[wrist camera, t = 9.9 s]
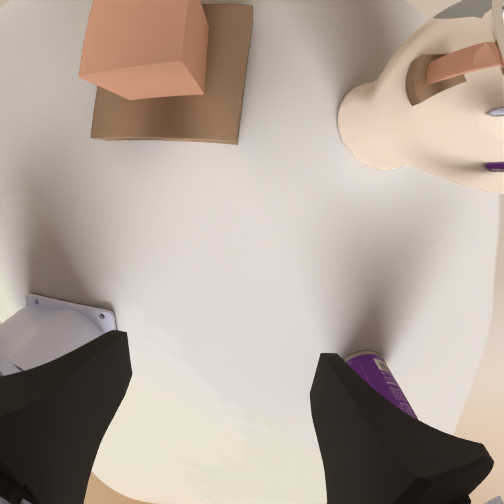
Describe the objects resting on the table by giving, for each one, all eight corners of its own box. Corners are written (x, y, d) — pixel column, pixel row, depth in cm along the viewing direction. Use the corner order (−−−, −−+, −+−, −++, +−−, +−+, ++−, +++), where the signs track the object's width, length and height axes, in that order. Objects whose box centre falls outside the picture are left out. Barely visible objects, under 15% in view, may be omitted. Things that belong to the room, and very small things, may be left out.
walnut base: (111, 140, 18) (90, 138, 15) (130, 28, 16) (115, 12, 13) (237, 145, 19) (235, 141, 16) (252, 25, 16) (252, 5, 13)
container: (332, 356, 22) (391, 524, 8) (386, 345, 22) (473, 488, 8) (331, 397, 23) (373, 547, 9) (381, 386, 23) (443, 521, 9)
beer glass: (321, 161, 18) (491, 156, 4) (338, 65, 16) (467, -67, 2) (412, 187, 19) (597, 237, 4) (426, 98, 17) (594, 58, 2)
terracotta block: (129, 100, 15) (78, 77, 9) (136, 35, 14) (95, -7, 8) (204, 94, 15) (181, 60, 9) (209, 27, 14) (191, -26, 8)
